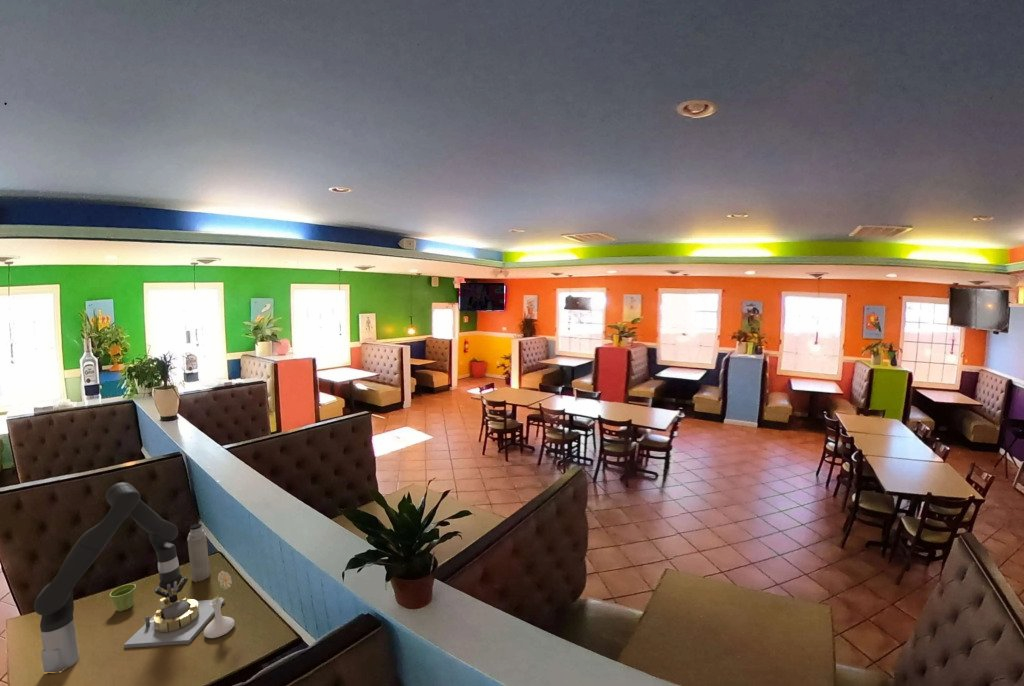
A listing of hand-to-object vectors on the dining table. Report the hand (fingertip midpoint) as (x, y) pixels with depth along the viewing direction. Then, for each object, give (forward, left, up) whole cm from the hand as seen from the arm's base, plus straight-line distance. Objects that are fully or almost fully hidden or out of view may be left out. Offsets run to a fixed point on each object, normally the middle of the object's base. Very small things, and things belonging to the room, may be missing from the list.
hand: (173, 602), depth 212 cm
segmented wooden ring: (-8, -5, -2) cm, 10 cm away
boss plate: (-10, -8, -4) cm, 13 cm away
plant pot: (+4, +25, -4) cm, 26 cm away
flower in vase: (-16, -30, -4) cm, 34 cm away
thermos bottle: (+25, +3, -4) cm, 26 cm away
